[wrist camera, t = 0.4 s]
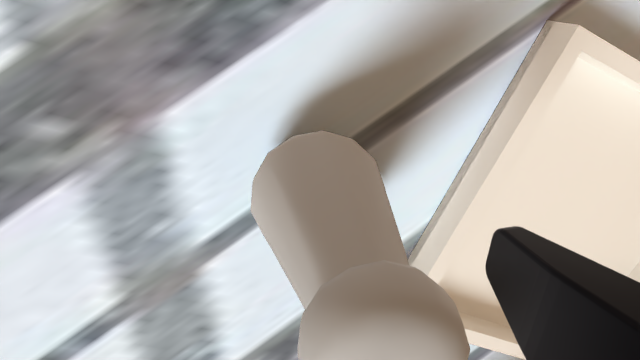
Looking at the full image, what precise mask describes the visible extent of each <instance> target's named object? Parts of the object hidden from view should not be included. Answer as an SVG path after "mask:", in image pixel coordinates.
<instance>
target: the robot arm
mask: <svg viewBox="0 0 640 360" xmlns="http://www.w3.org/2000/svg"><path fill="white" fill-rule="evenodd" d="M485 269H486V275H487V278H488V280H489V282H490V284H491V287H492V289H493V291H494V293H495V295H496V297H497V300H498V302H499V304H500V306H501V308H502V310H503V313H504V315H505V317H506V319H507V321H508V323H509V326H510V328H511V330H512V332H513V334H514V336H515V338H516V341H517V343H518V345H519V347H520V349H521V351H522V353H523V354H524V356H525V358H526V360H640V282H638V281H636V280H633V279H631V278H629V277H627V276H625V275H623V274H621V273H619V272H616V271H614V270H612V269H610V268H608V267H606V266H604V265H601V264H599V263H597V262H595V261H593V260H591V259H589V258H586V257H584V256H582V255H580V254H578V253H576V252H574V251H572V250H569V249H567V248H565V247H563V246H561V245H559V244H557V243H554V242H552V241H550V240H548V239H546V238H544V237H542V236H539V235H537V234H535V233H533V232H531V231H529V230H527V229H525V228H522V227H519V226H512V227H505V228H499V229H497V230H496V231H495V232H494V233H493V236H492V240H491V244H490V248H489V252H488V256H487V260H486V265H485Z"/></svg>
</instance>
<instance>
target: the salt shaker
mask: <svg viewBox="0 0 640 360" xmlns="http://www.w3.org/2000/svg"><path fill="white" fill-rule="evenodd" d="M251 213H252V215H253V216H254V218H255V220H256V222H257V224H258V226H259V228H260V230H261V232H262V234H263V236H264V237H265V239H266V240H267V242H268V244H269V245H270V247H271V249H272V250H273V252H274V254H275V256H276V258H277V260H278V261H279V263H280V265H281V267H282V269H283V270H284V272H285V274H286V276H287V278H288V279H289V281H290V283H291V285H292V287H293V288H294V290H295V292H296V294H297V296H298V298H299V299H300V301H301V303H302V305H303V307H304V308H305V311H304V313H303V315H302V319H301V324H300V332H299V341H298V360H468V356H469V352H470V347H469V343H468V340H467V336H466V332H465V329H464V325H463V322H462V320H461V317H460V314H459V312H458V309H457V307H456V304H455V303H454V301H453V300H452V299H451V298H450V296H449V295H448V294H447V292H446V291H445V290H444V289H443V288H442V287H441V286H439V285H438V284H437V283H436V282H434V281H433V280H432V279H431V278H430V277H428V276H427V275H426V274H425V273H423V272H422V271H421V270H419V269H417V268H416V267H413V266H410V265H409V262H408V259H407V256H406V253H405V250H404V247H403V244H402V240H401V237H400V234H399V231H398V228H397V225H396V222H395V219H394V216H393V213H392V209H391V206H390V203H389V200H388V197H387V194H386V191H385V187H384V184H383V181H382V178H381V175H380V172H379V169H378V166H377V163H376V160H375V159H374V158H373V157H372V156H371V155H370V154H369V153H368V152H367V151H365V150H364V149H363V148H362V147H361V146H360V145H359V144H358V143H357V142H356V141H354V140H353V139H351V138H349V137H345V136H341V135H338V134H334V133H331V132H327V131H323V130H322V131H317V132H311V133H306V134H300V135H295V136H292V137H291V138H289V139H288V140H286V141H285V142H283V143H282V144H280V145H279V146H277V147H276V148H274V149H273V150H271V151H270V152H269V153H268V154H267V156H266V157H265V159H264V161H263V163H262V165H261V166H260V168H259V170H258V172H257V174H256V175H255V177H254V180H253V185H252V199H251Z"/></svg>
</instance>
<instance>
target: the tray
mask: <svg viewBox="0 0 640 360" xmlns="http://www.w3.org/2000/svg"><path fill="white" fill-rule="evenodd" d="M512 226H519V227H522V228H525V229H527V230H529V231H531V232H533V233H535V234H537V235H539V236H542V237H544V238H546V239H548V240H550V241H552V242H554V243H557V244H559V245H561V246H563V247H565V248H567V249H569V250H572V251H574V252H576V253H578V254H580V255H582V256H584V257H586V258H589V259H591V260H593V261H595V262H597V263H599V264H601V265H604V266H606V267H608V268H610V269H612V270H614V271H616V272H619V273H621V274H623V275H625V276H627V277H629V278H631V279H633V280H636V281H638V282H640V61H638V60H637V59H635V58H633V57H632V56H630V55H628V54H627V53H625V52H623V51H622V50H620V49H618V48H617V47H615V46H613V45H612V44H610V43H608V42H607V41H605V40H603V39H602V38H600V37H598V36H597V35H595V34H593V33H592V32H590V31H588V30H587V29H585V28H584V27H582V26H580V25H577V24H570V23H563V22H556V21H549V20H547V22H546V23H545V25H544V27H543V28H542V30H541V32H540V34H539V35H538V37H537V39H536V40H535V42H534V44H533V46H532V47H531V49H530V51H529V52H528V54H527V56H526V58H525V59H524V61H523V63H522V64H521V66H520V68H519V70H518V71H517V73H516V75H515V76H514V78H513V80H512V82H511V83H510V85H509V87H508V88H507V90H506V92H505V94H504V95H503V97H502V99H501V100H500V102H499V104H498V106H497V107H496V109H495V111H494V112H493V114H492V116H491V118H490V119H489V121H488V123H487V124H486V126H485V128H484V130H483V131H482V133H481V135H480V136H479V138H478V140H477V142H476V143H475V145H474V147H473V148H472V150H471V152H470V154H469V155H468V157H467V159H466V160H465V162H464V164H463V166H462V167H461V169H460V171H459V172H458V174H457V176H456V178H455V179H454V181H453V183H452V184H451V186H450V188H449V190H448V191H447V193H446V195H445V196H444V198H443V200H442V202H441V203H440V205H439V207H438V208H437V210H436V212H435V214H434V215H433V217H432V219H431V220H430V222H429V224H428V226H427V227H426V229H425V231H424V232H423V234H422V236H421V238H420V239H419V241H418V243H417V244H416V246H415V248H414V250H413V251H412V253H411V255H410V256H409V258H408V262H409V265H410V266H413V267H416V268H417V269H419V270H421V271H422V272H423V273H425V274H426V275H427V276H428V277H430V278H431V279H432V280H433V281H434V282H436V283H437V284H438V285H439V286H441V287H442V288H443V289H444V290H445V291H446V292H447V294H448V295H449V296H450V298H451V299H452V300H453V301H454V303H455V304H456V307H457V309H458V312H459V314H460V317H461V320H462V322H463V325H464V329H465V332H466V336H467V340H468V343H469V344H472V345H476V346H479V347H483V348H486V349H490V350H493V351H497V352H500V353H504V354H507V355H511V356H514V357H518V358H521V359H525V360H526V358H525V356H524V354H523V353H522V351H521V349H520V347H519V345H518V343H517V341H516V338H515V336H514V334H513V332H512V330H511V328H510V326H509V323H508V321H507V319H506V317H505V315H504V313H503V310H502V308H501V306H500V304H499V302H498V300H497V297H496V295H495V293H494V291H493V289H492V287H491V284H490V282H489V280H488V278H487V275H486V269H485V265H486V260H487V256H488V252H489V248H490V244H491V240H492V236H493V233H494V232H495V231H496V230H497V229H499V228H505V227H512Z"/></svg>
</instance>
